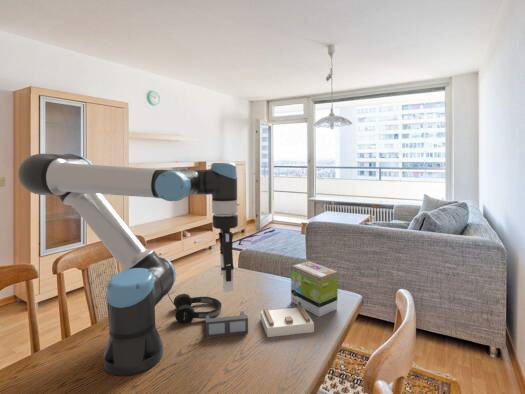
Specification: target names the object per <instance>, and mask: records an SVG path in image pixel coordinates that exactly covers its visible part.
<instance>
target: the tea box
mask: <svg viewBox="0 0 525 394" xmlns="http://www.w3.org/2000/svg"><path fill="white" fill-rule="evenodd" d="M290 269H291V273H290V275H291V277H290V282H291V283H290V288H291V289H290V299H291V300H290V301H291V303H294V304H295V305H296V306H297V305H301V307H303V308H304V309H305V311H308V312H309V313H311V314H313V315H315V317H316V316H317V318H320V317H322V316H325V315H327V314H330V313H332V312H334V311H336V310H337V309H338V294H339V290H338V288H339V287H338V286H339V272H338V271H337V270H334V269H331V268H330V267H329V268H328V267H327V266H324V265H321V264H318V263H316V262H312V261H310V260H309V261H308V260H307V261H305V262H302V263H297V264H295V265H291V267H290ZM331 311H332V312H331ZM329 312H330V313H329Z"/></svg>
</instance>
